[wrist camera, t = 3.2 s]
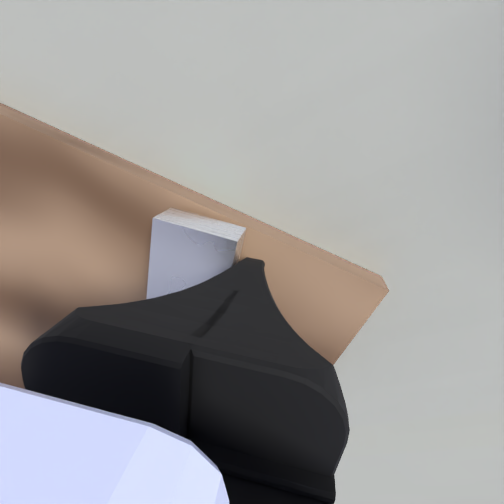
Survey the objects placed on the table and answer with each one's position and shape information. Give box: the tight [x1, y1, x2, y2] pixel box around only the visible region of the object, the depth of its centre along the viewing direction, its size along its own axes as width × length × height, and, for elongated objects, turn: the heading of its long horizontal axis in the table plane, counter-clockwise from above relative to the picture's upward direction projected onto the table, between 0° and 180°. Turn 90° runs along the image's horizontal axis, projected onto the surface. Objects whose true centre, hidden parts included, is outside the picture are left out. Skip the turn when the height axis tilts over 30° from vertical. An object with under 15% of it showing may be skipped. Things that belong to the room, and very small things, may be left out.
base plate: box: [0, 103, 389, 389], centre depth 14 cm, size 20×20×4 cm
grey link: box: [146, 207, 246, 299], centre depth 14 cm, size 17×4×2 cm, turn 167°
